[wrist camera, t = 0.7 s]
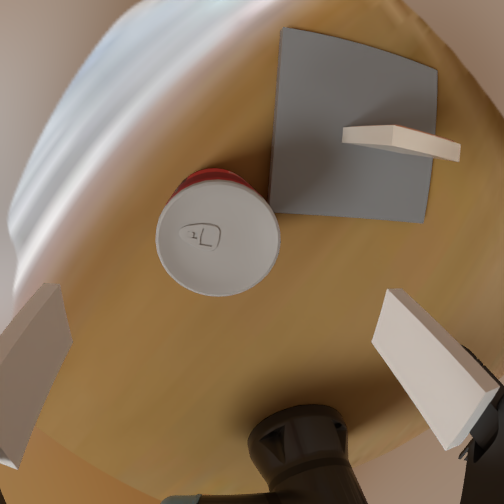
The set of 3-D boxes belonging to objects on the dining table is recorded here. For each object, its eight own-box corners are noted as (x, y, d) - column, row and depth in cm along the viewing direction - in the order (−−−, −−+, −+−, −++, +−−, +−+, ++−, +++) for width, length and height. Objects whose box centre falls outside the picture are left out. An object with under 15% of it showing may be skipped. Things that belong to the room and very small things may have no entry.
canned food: (169, 170, 28) (147, 186, 18) (255, 164, 29) (281, 177, 19) (176, 249, 31) (163, 302, 21) (257, 243, 32) (282, 292, 22)
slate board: (417, 220, 34) (423, 223, 32) (266, 209, 31) (268, 212, 30) (431, 71, 28) (437, 70, 27) (280, 31, 25) (283, 27, 24)
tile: (401, 153, 29) (458, 162, 21) (341, 142, 28) (391, 145, 20) (402, 138, 29) (460, 142, 20) (343, 125, 28) (393, 123, 19)
